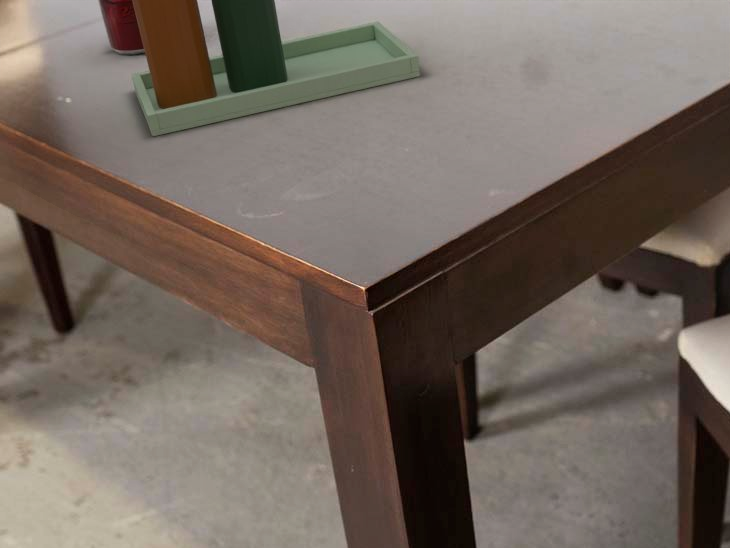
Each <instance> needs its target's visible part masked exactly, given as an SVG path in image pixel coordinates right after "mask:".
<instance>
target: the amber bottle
mask: <svg viewBox="0 0 730 548" xmlns="http://www.w3.org/2000/svg"><path fill="white" fill-rule="evenodd" d="M132 1H133V5H134V9H135V14H136V18H137V22H138V26H139V30H140V34H141V38H142V42H143V46H144V51H145V53H144V55H145V58H146V62H147V68H148V71H150V75H151V79H152V83H153V87H154V92H155V96H156V100H157V104H158V106H159V108H162V109H167V108H171V107H176V106H180V105H185V104H189V103H194V102H198V101H203V100H207V99H212V98H215V97H216V95H217V93H216V88H215V83H214V78H213V74H212V69H211V64H210V59H209V58H210V55H209V50H208V46H207V41H206V35H205V31H204V26H203V22H202V18H201V12H200V7H199V3H198V0H132Z"/></svg>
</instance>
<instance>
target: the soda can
mask: <svg viewBox="0 0 730 548" xmlns="http://www.w3.org/2000/svg"><path fill="white" fill-rule="evenodd" d="M97 1H98V2H97V3H98V5H99V7H100V8H99V9H100V12H101V17H102V20H103V23H104V24H103V25H104V28H105V32H106V36H107V39H108V45H109V46H110V48H111V49H112V50H113V51H115V52H116V53H118V54H121V55H130V56H131V55H132V56H133V55H141V54H145V51H144V46H143V42H142V38H141V34H140V30H139V26H138V22H137V18H136V14H135V9H134V5H133V1H132V0H97Z"/></svg>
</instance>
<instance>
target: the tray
mask: <svg viewBox="0 0 730 548" xmlns="http://www.w3.org/2000/svg"><path fill="white" fill-rule="evenodd" d="M281 42H282V48H283V54H284V60H285V65H286V71H287V77H288V80H287V82H284V83H279V84H275V85H270V86H266V87H261V88H257V89H252V90H248V91H243V92H239V93H234V92H232V91H231V90H230V88H229V84H228V80H227V75H226V70H225V65H224V60H223V55H222V54H220V55H215V56H209V59H210V64H211V69H212V74H213V78H214V83H215V88H216V93H217V95H216V97H215V98H212V99H207V100H203V101H198V102H194V103H189V104H185V105H180V106H176V107H171V108H167V109H162V108H159V106H158V104H157V100H156V96H155V92H154V87H153V83H152V79H151V75H150V71H149V70H145V71H141V72H136V73H131V74H130V76H131V80H132V85H133V87H134V91H135V95H136V97H137V98H136V99H137V100H138V103H139V105H140V109H141V111H142V113H143V115H144V118H145V121H146V124H147V127H148V128H149V131H150V134H151V136H152V137H157V136H161V135H166V134H170V133H175V132H180V131H183V130H188V129H192V128H193V129H194V128H197V127H202V126H205V125H210V124H214V123H218V122H224V121H228V120H232V119H236V118H241V117H245V116H250V115H254V114H260V113H263V112H268V111H272V110H277V109H281V108H285V107H290V106H295V105H298V104H303V103H307V102H308V103H309V102H312V101H317V100H321V99H325V98H330V97H334V96H339V95H343V94H347V93H352V92H357V91H360V90H364V89H365V90H366V89H369V88H370V89H371V88H374V87H378V86H382V85H387V84H391V83H396V82H400V81H404V80H409V79H413V78H418V77H421V72H420V62H419V61H420V60H419V55H418V54H417V53H416V52H415V51H413V50H412V49H411V48H409V47H408V45H406V44H405V43H404V42H403V41H402V40H401V39H399V37H397V36H396V35H395V34H394V33H392V32H391V31H390V30H389V29H388V28H386V27H385V25H383V24H382V23H381V22H380V21H374V22H369V23H364V24H360V25H354V26H350V27H346V28H341V29H336V30H332V31H327V32H323V33H318V34H317V33H316V34H312V35H308V36H304V37H299V38H294V39H289V40H286V41H285V40H284V41H281Z"/></svg>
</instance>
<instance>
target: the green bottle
mask: <svg viewBox="0 0 730 548" xmlns="http://www.w3.org/2000/svg"><path fill="white" fill-rule="evenodd" d="M211 5H212V10H213V15H214V19H215V26H216V31H217V35H218V41H219V45H220V49H221V55H223V60H224V65H225V70H226V75H227V80H228V84H229V88H230V90H231V91H232V92H234V93H239V92H243V91H248V90H252V89H257V88H261V87H266V86H270V85H275V84H279V83H284V82H287V80H288V77H287V71H286V65H285V60H284V54H283V48H282V42H283V41H282V37H281V31H280V25H279V19H278V13H277V8H276V3H275V0H211Z"/></svg>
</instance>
